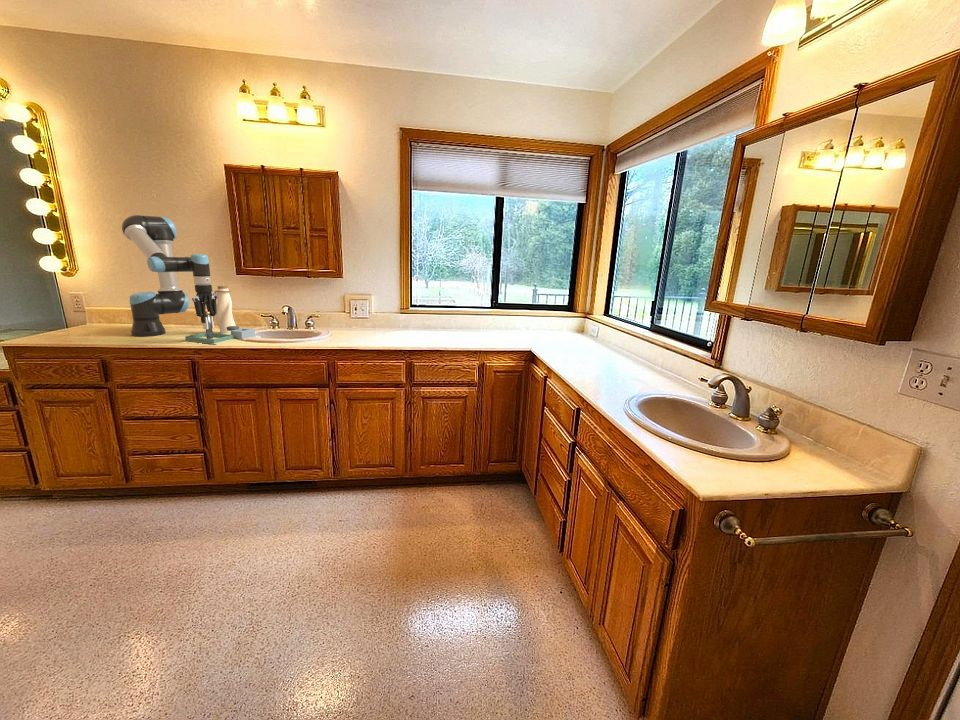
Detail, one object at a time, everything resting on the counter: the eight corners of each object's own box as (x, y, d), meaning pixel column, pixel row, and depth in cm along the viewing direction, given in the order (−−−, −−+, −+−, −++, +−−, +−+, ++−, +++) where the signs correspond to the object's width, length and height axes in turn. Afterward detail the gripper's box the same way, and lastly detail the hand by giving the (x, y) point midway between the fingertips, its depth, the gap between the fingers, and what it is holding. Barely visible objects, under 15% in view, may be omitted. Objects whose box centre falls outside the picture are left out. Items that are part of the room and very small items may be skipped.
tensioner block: (221, 338, 228) (220, 327, 227) (235, 335, 238) (234, 325, 236) (243, 340, 225) (241, 329, 224) (256, 337, 235) (255, 327, 233)
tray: (185, 342, 217) (185, 336, 216) (206, 337, 229) (205, 332, 228) (214, 345, 213) (213, 339, 212) (233, 340, 226) (233, 335, 225)
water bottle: (217, 336, 234) (211, 287, 226) (215, 333, 240) (209, 285, 233) (238, 334, 240) (232, 286, 233) (235, 331, 247) (230, 285, 239)
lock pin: (205, 338, 220) (201, 311, 216) (210, 337, 222) (206, 311, 219) (210, 339, 219) (206, 312, 215) (214, 337, 222) (211, 311, 218)
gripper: (195, 285, 205) (201, 331, 211) (221, 283, 220) (226, 326, 226) (183, 285, 207) (189, 330, 213) (209, 283, 222) (215, 325, 228)
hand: (208, 328), depth 219 cm, fingers closed on lock pin, 3 cm apart
